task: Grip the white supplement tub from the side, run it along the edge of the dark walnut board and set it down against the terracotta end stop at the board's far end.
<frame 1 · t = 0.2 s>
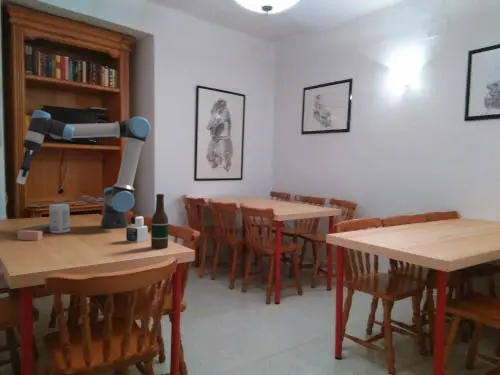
hand: (20, 183, 177), 27 cm above the table, tool tilted 15°, fingers open, 13 cm apart
end stop: (30, 239, 176), on the table
supplement tub: (59, 232, 197), on the table
beer bottle: (159, 247, 165), on the table
medicine bottle: (137, 241, 177), on the table
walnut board: (37, 232, 193), on the table
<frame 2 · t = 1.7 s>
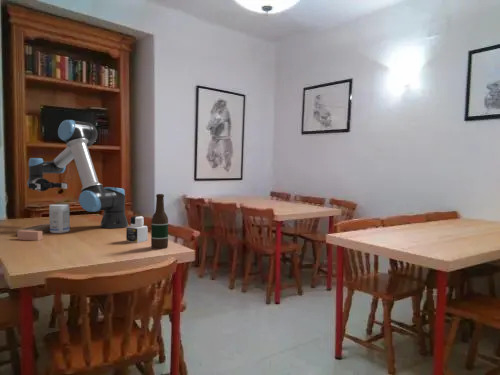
hand: (53, 186, 202), 24 cm above the table, tool horizontal, fingers open, 13 cm apart
nothing on the table moved.
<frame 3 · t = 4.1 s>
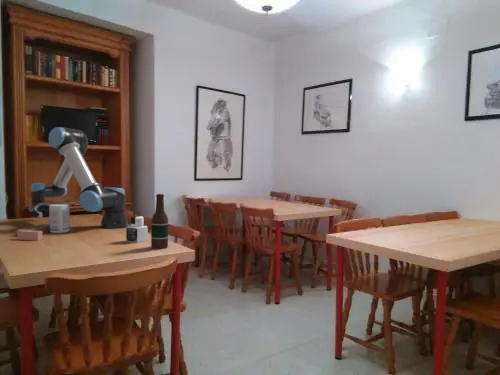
hand: (55, 214, 200), 9 cm above the table, tool horizontal, fingers open, 13 cm apart
nothing on the table moved.
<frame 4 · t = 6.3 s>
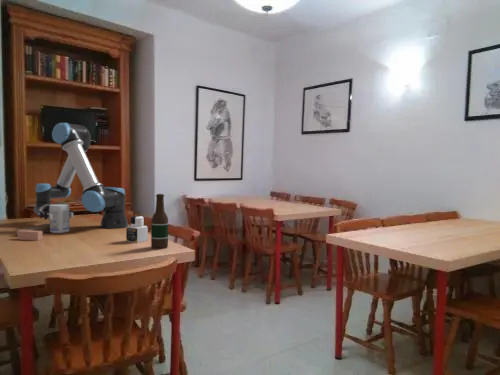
hand: (62, 216, 193), 9 cm above the table, tool horizontal, fingers closed on supplement tub, 9 cm apart
supplement tub: (59, 232, 197), on the table, touching gripper
everything else where it was.
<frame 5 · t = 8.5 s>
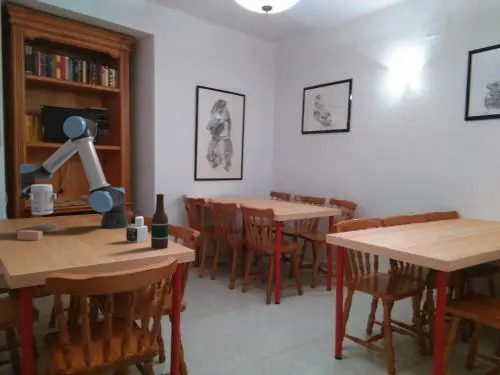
hand: (44, 196, 181), 20 cm above the table, tool horizontal, fingers closed on supplement tub, 9 cm apart
supplement tub: (42, 214, 185), point 11 cm above the table, touching gripper
everything else where it was.
when the fingers open (10 cm above the table, at t = 11.0 s): supplement tub drops 1 cm, on the table.
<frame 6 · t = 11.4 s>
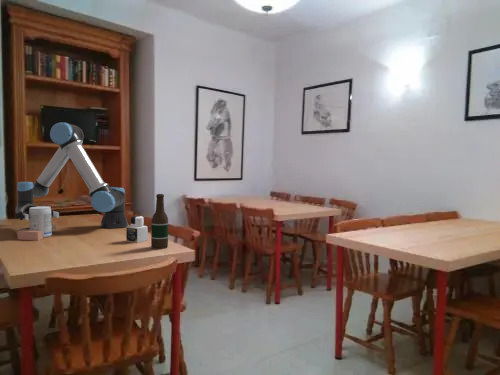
hand: (43, 216, 180), 10 cm above the table, tool horizontal, fingers open, 13 cm apart
supplement tub: (40, 236, 183), on the table
everything else where it was.
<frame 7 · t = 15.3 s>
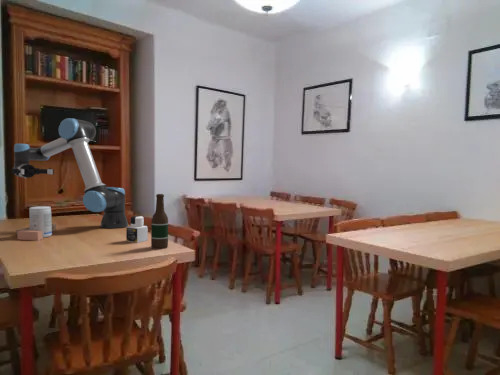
hand: (38, 171, 194), 32 cm above the table, tool horizontal, fingers open, 13 cm apart
nothing on the table moved.
at the end: supplement tub inside the target area (0.2 cm from its centre), on the table; supplement tub tilted 0°; the gripper is holding nothing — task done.
